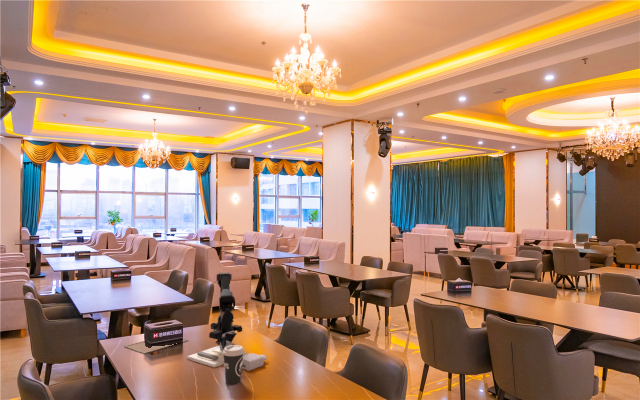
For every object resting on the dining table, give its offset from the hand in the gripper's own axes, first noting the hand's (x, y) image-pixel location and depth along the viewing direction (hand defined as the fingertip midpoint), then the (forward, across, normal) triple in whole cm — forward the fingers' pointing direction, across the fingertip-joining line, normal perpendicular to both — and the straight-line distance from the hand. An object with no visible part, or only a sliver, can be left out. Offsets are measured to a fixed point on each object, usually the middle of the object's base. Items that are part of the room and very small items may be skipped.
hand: (225, 348), depth 226 cm
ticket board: (+3, +6, 0) cm, 7 cm away
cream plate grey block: (+1, 0, 0) cm, 1 cm away
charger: (+4, +2, +23) cm, 23 cm away
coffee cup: (+3, +24, +30) cm, 39 cm away
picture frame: (+4, +11, -44) cm, 45 cm away
